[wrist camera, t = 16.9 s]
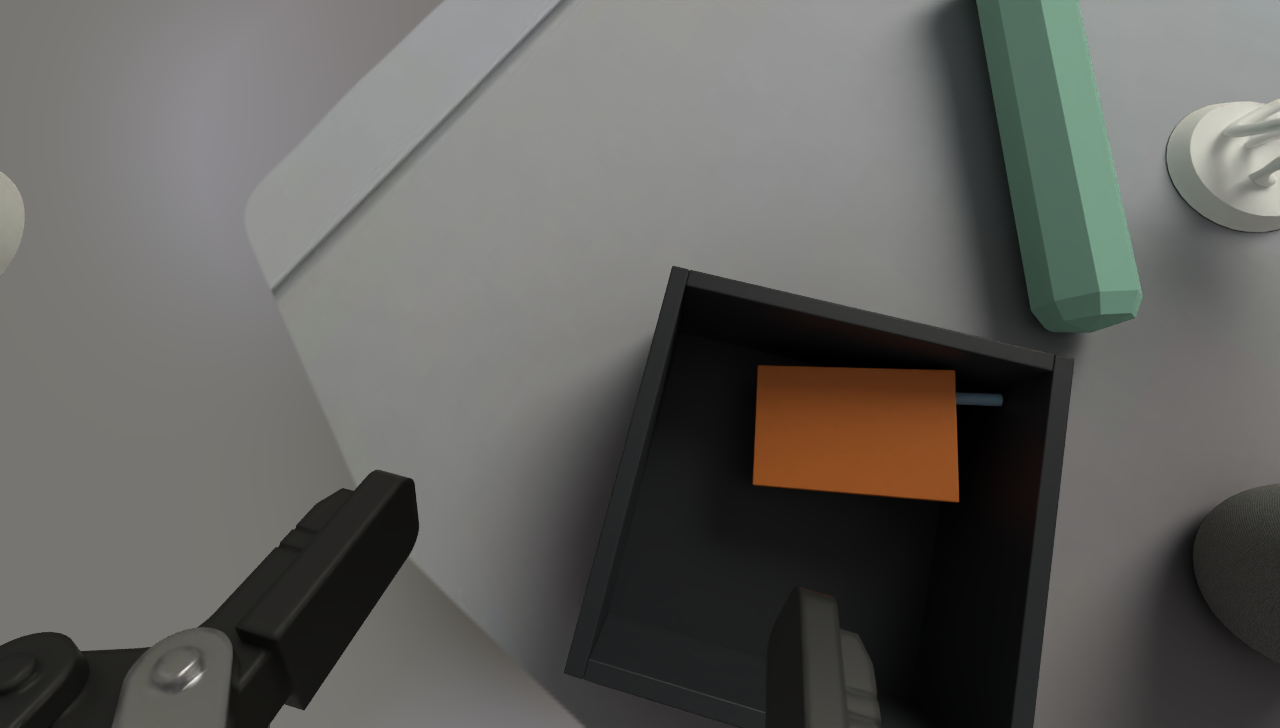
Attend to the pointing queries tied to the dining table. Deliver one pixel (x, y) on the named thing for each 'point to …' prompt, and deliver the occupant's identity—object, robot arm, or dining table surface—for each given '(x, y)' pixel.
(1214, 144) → the figurine
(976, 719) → the bin
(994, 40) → the container
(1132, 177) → the dining table surface
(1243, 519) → the smart speaker
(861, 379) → the juice box
